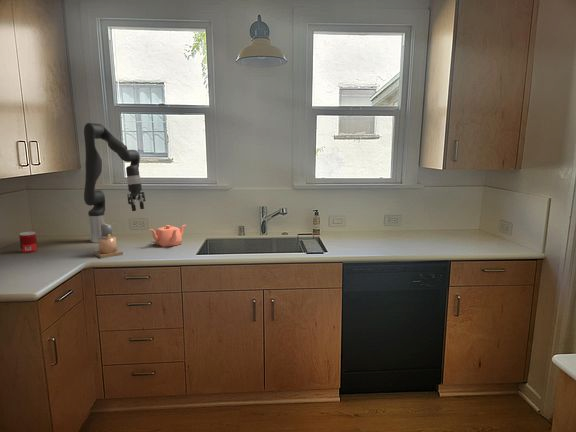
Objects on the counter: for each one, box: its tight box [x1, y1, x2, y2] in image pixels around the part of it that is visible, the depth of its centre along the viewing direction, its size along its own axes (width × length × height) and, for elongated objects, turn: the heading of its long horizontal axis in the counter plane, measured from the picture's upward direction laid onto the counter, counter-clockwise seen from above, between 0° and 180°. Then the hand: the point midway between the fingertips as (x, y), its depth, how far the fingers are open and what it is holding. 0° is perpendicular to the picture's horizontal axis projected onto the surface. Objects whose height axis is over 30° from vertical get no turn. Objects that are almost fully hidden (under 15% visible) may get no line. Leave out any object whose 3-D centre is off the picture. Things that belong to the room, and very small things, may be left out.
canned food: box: [18, 231, 38, 254], centre depth 219 cm, size 8×8×11 cm
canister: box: [93, 235, 124, 259], centre depth 216 cm, size 12×12×12 cm
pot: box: [148, 224, 187, 248], centre depth 240 cm, size 18×17×12 cm
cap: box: [101, 223, 113, 237], centre depth 214 cm, size 7×6×6 cm
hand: (138, 210), depth 228 cm, fingers open, 8 cm apart
